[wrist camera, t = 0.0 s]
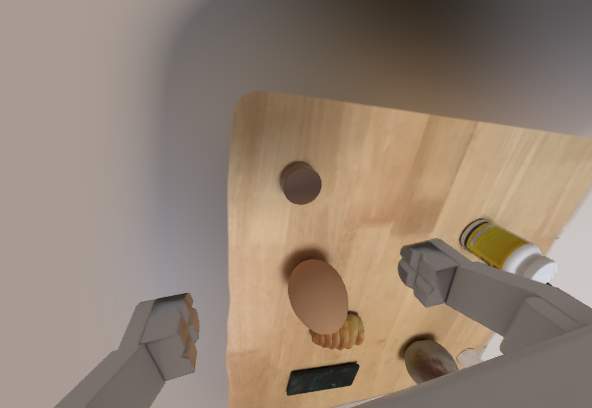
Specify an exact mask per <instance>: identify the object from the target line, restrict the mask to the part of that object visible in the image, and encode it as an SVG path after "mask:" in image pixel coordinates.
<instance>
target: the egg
mask: <svg viewBox="0 0 592 408" xmlns="http://www.w3.org/2000/svg"><path fill="white" fill-rule="evenodd" d="M288 295H289V299H290V302H291V305H292V308H293V310H294V312H295V314H296V315H297V317H298V318H299V319H300V320H301V321H302V322H303V323H304V324H305V326H307V327H308V328H309V329H311V330H312V331H314V332H316V333H318V334H324V335H327V334H333V333H335V332H337V331H338V330H339V329H340V328H341V327H342V326H343V324H344V322H345V320H346V318H347V312H348V296H347V291H346V288H345V285H344V282H343V280H342V278H341V276H340V275H339V274H338V272H337V271H336V270H335V269H334V268H333V267H332V266H331V265H329V264H328V263H326V262H323V261H321V260H316V259H310V260H306V261H303V262H301V263H300V264H298V265H297V266H296V267H295V269H294V270H293V272H292V273H291V276H290V279H289V283H288Z"/></svg>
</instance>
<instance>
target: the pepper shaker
mask: <svg viewBox="0 0 592 408" xmlns="http://www.w3.org/2000/svg"><path fill="white" fill-rule="evenodd" d="M457 362H458V363H459V364H460V365H461V366H462V367H463V368H467V367H470V366H472V365H475V364H478V363H481V362H484V361H483V360H482V359H481V358H480V356H479V355H478V354H477V353H476V351H475V350H474V349H466V350H464V351H463V352H461V353H460V354H459V355H458V357H457Z"/></svg>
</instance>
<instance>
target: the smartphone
mask: <svg viewBox="0 0 592 408" xmlns="http://www.w3.org/2000/svg"><path fill="white" fill-rule="evenodd" d="M358 369H359V365H358V364H346V365H342V366H337V367H330V368H322V369H315V370H307V371H300V372H293V373H292V374H291V378H290V382H289V385H288V389H287V395H288V396H289V395H295V394H301V393H308V392H314V391H320V390H326V389H332V388H338V387H345V386H351V385H352V383H353V380H354V378H355V376H356V374H357V371H358Z"/></svg>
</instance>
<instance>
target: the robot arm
mask: <svg viewBox="0 0 592 408" xmlns="http://www.w3.org/2000/svg"><path fill="white" fill-rule="evenodd" d="M400 255H401V256H402V259H401V260H400V262H399V263H398V273H399V276H400V278H401V280H402V281H403V283H404V284H405V285H406V286H408V287H410V288H412V289H413V291H414V295H415V296H416V297H417V298H418V300H419V301H420V302H421V303H422V304H423V305H424V306H425V307H430V306H434V305H439V304H443V303H446V305H448V306H450V307H452V308H453V309H455V310H457V311H459V312H461V313H462V314H464V315H466V316H468V317H469V318H471V319H473V320H475V321H477V322H478V323H480V324H482V325H484V326H485V327H487V328H489V329H491V330H492V331H494V332H496V333H498V334H500V335H501V336H503V337H504V339H503V341H502V342H501V345H500V351H501V352H502V353H503V354H504V355H501V356H498V357H495V358H493V359H490V360H487V361H484V362H481V363H478V364H475V365H472V366H470V367H467V368H464V369H461V370H458V371H455V372H452V373H449V374H447V375H444V376H441V377H438V378H435V379H432V380H429V381H426V382H424V383H421V384H418V385H415V386H412V387H409V388H406V389H403V390H400V391H398V392H395V393H392V394H389V395H386V396H383V397H380V398H377V399H375V400H372V401H369V402H366V403H363V404H360V405H357V406H354V407H352V408H592V309H591V308H590V307H588V306H587V305H585V304H583V303H582V302H580V301H578V300H577V299H575V298H574V297H572V296H570V295H569V294H567V293H565V292H564V291H562V290H560V289H559V288H556V287H553V286H550V285H547V284H544V283H541V282H538V281H535V280H532V279H529V278H525V277H522V276H519V275H516V274H513V273H510V272H507V271H504V270H501V269H498V268H494V267H491V266H488V265H485V264H482V263H479V262H472V261H470V260H469V259H467V258H466V257H465V256H463V255H462V254H460V253H459V252H458V251H456V250H455V249H453V248H452V247H451V246H449V245H448V244H446V243H445V242H444V241H442V240H441V239H437V238H435V239H431V240H427V241H423V242H419V243H414V244H410V245H405V246H403V247H402V248H401V252H400ZM192 303H193V299H192V297H191V294H190V293H184V294H179V295H174V296H169V297H164V298H158V299H155V300H150V301H145V302H140V303H139V304H138V305H137V306H136V308H135V311H134V313H133V316H132V318H131V320H130V322H129V325H128V327H127V329H126V332H125V334H124V337H123V339H122V341H121V344H120V346H119V348H118V350H116V351H113V352H111V353H110V354H109V355H108V356H107V357H106V358H105V359H104V360H103V361H102V362H101V363H100V364H99V365H98V366H97V367H96V368H95V369H94V370H93V371H91V372H90V373H89V374H88V375H87V376H86V377H85V378H84V379H83V380H82V381H81V382H80V383H79V384H78V385H77V386H76V387H75V388H74V389H73V390H72V391H71V392H70V393H69V394H68V395H67V396H66V397H64V398H63V399H62V400H61V401H60V402H59V403H58V404H57V405H56V406H55V407H54V408H150V406H151V405H152V403H153V401H154V400H155V398H156V397H157V395H158V393H159V392H160V391H161V389H162V387H163V386H164V384H165V381H167V380H171V379H174V378H177V377H180V376H183V375H187V374H190V373H193V372H194V371H195V364H196V356H197V350H196V347H195V345H194V344H195V343H196V341H197V340H198V338H199V318H198V314H197V311H196V309H194V308H192Z"/></svg>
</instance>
